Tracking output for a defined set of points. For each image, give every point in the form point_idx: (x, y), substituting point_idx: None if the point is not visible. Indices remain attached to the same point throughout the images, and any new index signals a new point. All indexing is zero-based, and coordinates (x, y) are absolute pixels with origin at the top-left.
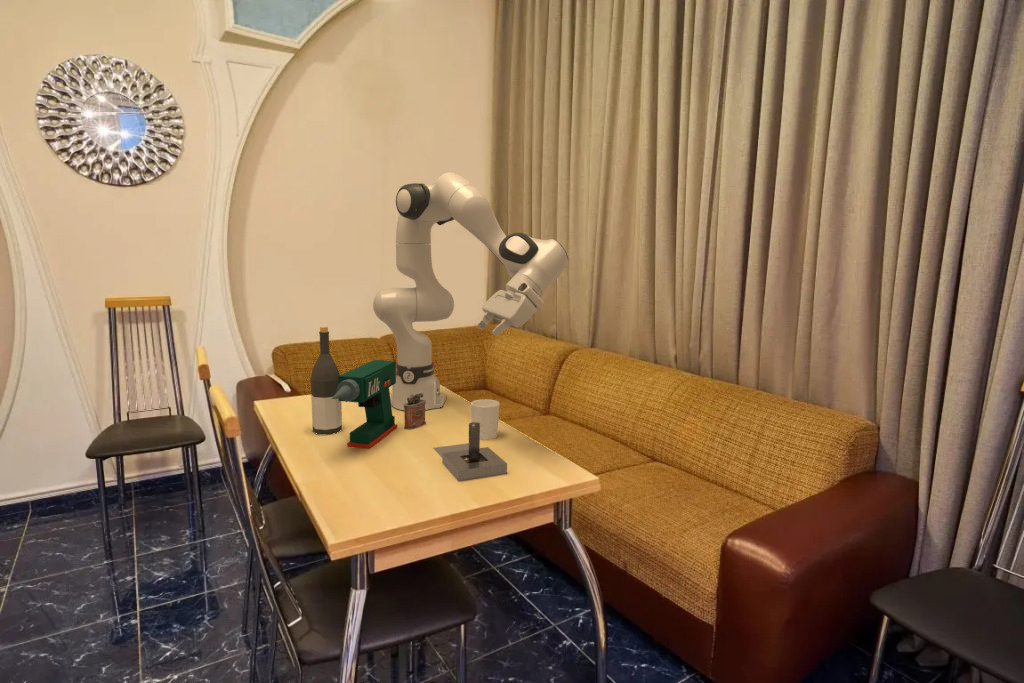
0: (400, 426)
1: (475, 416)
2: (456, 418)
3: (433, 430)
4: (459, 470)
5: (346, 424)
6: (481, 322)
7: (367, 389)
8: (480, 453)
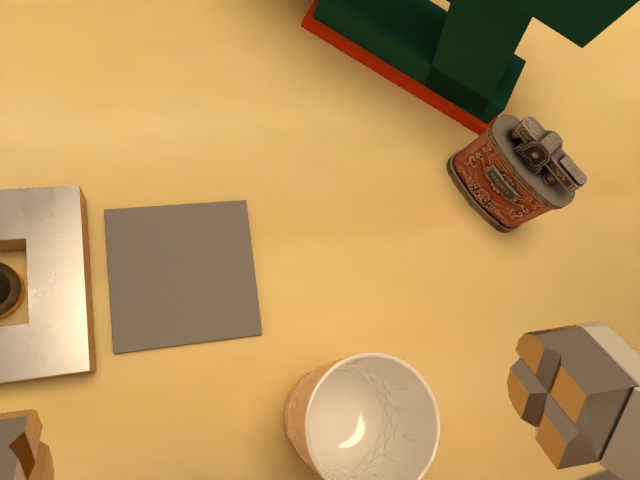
0: None
1: (325, 366)
2: None
3: (441, 245)
4: None
5: None
6: (578, 370)
7: None
8: (29, 323)
